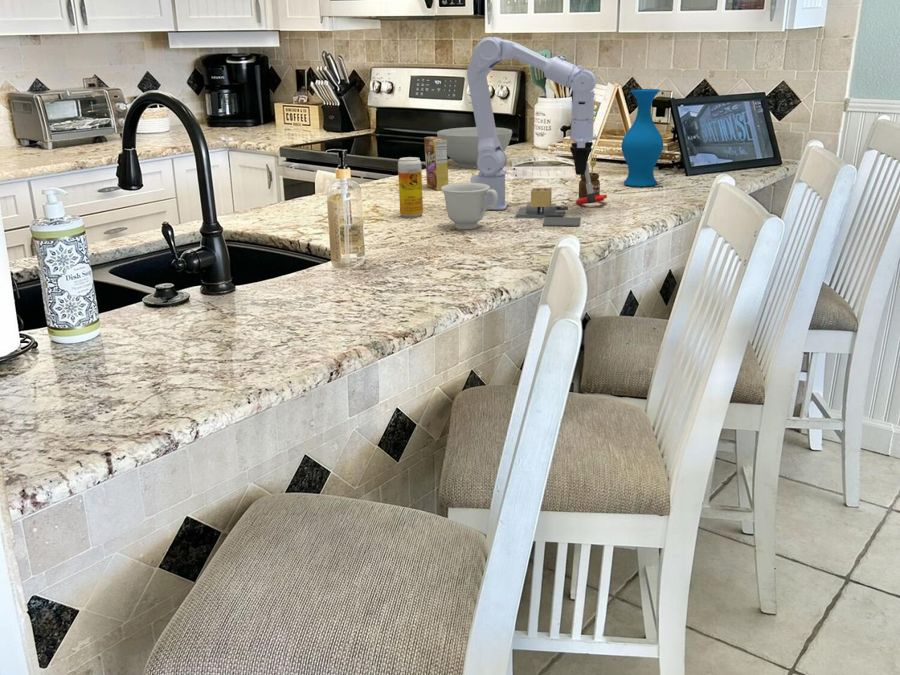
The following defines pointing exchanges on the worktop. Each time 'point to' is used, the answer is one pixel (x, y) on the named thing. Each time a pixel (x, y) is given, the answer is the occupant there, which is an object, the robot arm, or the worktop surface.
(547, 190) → the tan slotted block
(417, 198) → the beer can
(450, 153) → the decorative bowl
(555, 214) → the vise
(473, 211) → the teacup
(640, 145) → the vase
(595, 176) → the utensil holder
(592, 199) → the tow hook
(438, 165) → the candy box
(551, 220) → the mat
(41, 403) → the worktop surface
